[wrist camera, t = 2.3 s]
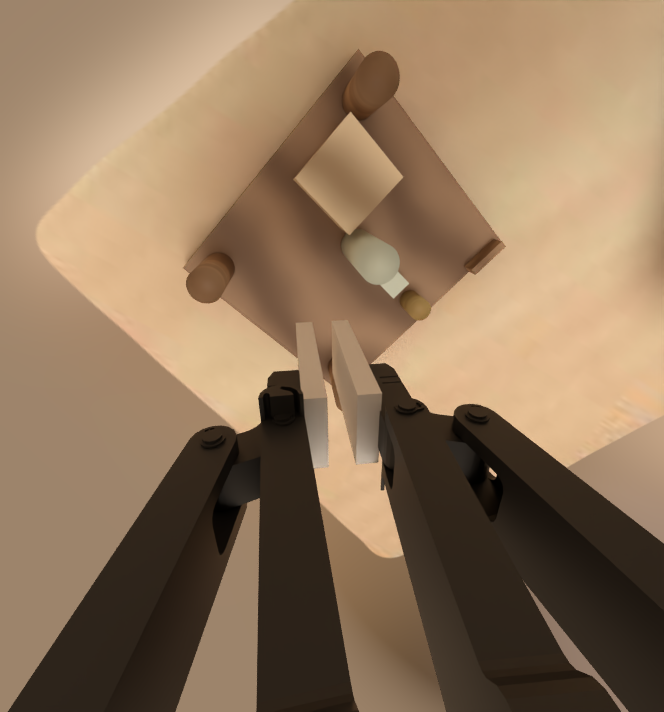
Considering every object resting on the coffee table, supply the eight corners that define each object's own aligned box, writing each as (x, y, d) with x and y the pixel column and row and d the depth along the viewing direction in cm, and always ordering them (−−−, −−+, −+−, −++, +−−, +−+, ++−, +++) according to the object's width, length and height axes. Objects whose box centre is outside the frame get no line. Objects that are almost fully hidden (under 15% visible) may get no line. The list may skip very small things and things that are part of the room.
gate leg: (334, 246, 29) (350, 265, 22) (356, 221, 29) (381, 233, 22) (386, 297, 32) (415, 330, 25) (407, 276, 31) (444, 303, 24)
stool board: (354, 56, 25) (379, 9, 19) (491, 238, 32) (546, 252, 26) (187, 263, 30) (159, 286, 23) (338, 384, 37) (350, 428, 30)
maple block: (339, 124, 26) (350, 111, 21) (384, 178, 28) (403, 177, 23) (293, 179, 27) (294, 178, 22) (339, 227, 29) (349, 235, 24)
